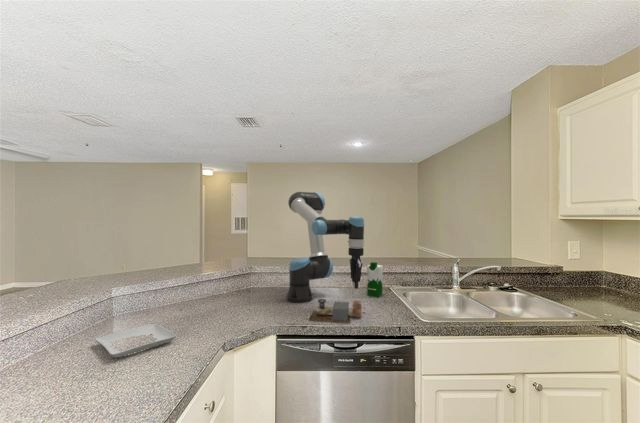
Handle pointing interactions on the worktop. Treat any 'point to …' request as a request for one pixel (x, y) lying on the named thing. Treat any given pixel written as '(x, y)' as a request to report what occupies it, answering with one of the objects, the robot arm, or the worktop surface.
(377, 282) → the milk carton
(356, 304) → the link
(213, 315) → the worktop surface
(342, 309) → the keeper
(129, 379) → the worktop surface
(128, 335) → the salad plate
